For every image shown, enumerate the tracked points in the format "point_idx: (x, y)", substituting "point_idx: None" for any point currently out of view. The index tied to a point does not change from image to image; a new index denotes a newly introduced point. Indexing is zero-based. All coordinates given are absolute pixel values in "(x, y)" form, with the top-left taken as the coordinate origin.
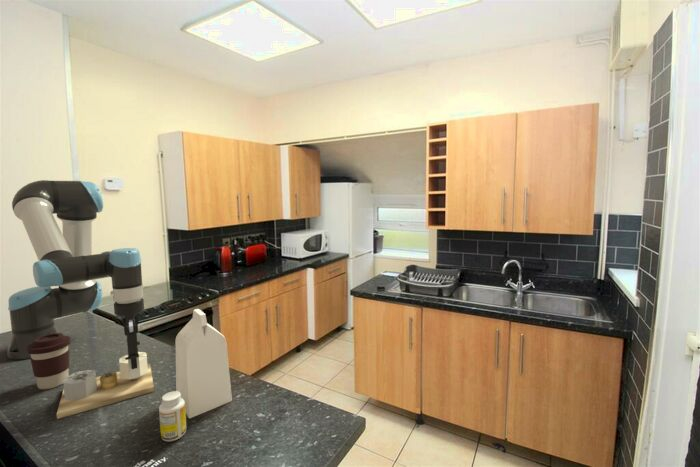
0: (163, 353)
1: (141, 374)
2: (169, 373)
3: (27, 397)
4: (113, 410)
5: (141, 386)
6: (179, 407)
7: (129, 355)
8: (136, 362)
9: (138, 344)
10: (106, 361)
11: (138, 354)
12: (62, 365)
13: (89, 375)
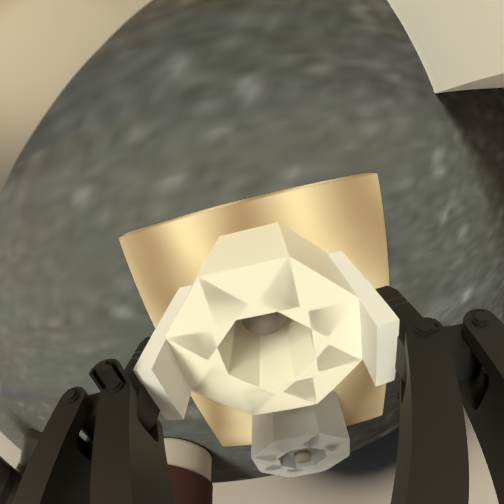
0: (26, 209)
1: (320, 250)
2: (210, 125)
3: (236, 467)
4: (423, 293)
5: (354, 231)
6: None
7: (487, 376)
8: (412, 307)
9: (123, 370)
10: (73, 377)
11: (490, 320)
12: (187, 485)
13: (310, 443)
